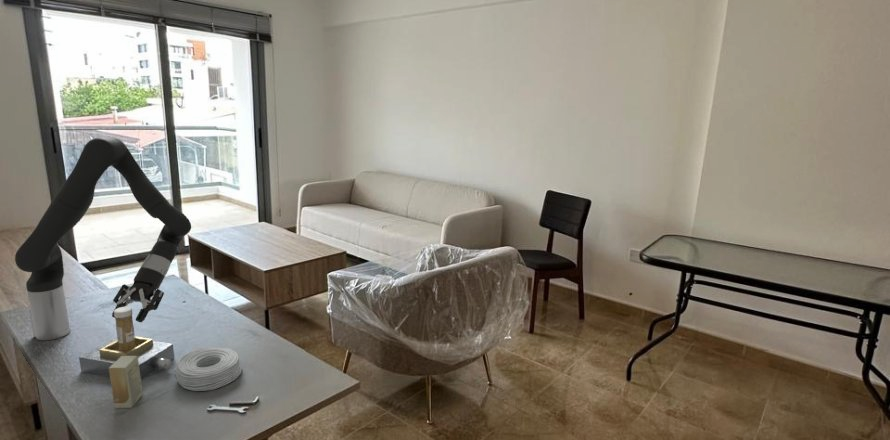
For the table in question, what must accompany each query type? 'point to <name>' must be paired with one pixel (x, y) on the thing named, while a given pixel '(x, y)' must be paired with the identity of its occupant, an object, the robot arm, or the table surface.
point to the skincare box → (125, 381)
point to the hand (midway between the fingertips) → (126, 319)
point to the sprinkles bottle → (124, 329)
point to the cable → (208, 368)
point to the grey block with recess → (146, 349)
